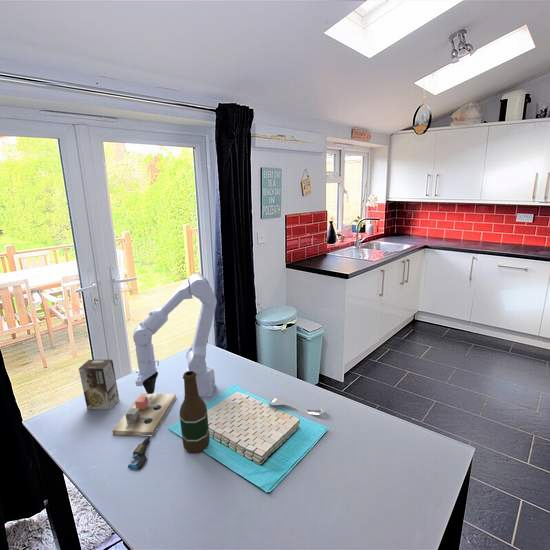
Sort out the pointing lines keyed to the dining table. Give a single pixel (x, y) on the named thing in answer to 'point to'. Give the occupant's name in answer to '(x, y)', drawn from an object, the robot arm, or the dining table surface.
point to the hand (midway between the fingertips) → (150, 392)
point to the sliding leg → (143, 403)
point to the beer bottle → (193, 417)
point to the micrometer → (140, 455)
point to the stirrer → (282, 402)
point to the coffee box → (99, 384)
